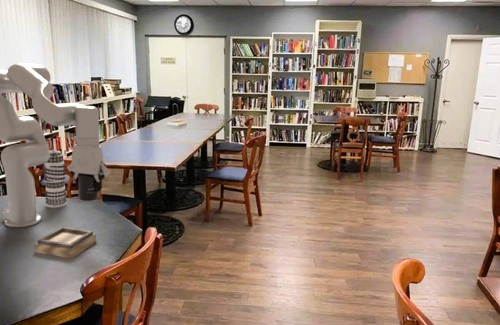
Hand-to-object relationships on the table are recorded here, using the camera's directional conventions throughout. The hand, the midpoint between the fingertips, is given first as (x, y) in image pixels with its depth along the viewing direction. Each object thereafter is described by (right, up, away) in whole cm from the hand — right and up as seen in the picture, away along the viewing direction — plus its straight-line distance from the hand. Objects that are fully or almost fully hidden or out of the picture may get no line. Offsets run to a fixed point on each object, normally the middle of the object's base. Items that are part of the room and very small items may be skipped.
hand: (88, 189), depth 137 cm
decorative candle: (-31, -10, +38) cm, 50 cm away
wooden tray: (-7, -20, -3) cm, 21 cm away
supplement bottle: (0, -3, +1) cm, 3 cm away
